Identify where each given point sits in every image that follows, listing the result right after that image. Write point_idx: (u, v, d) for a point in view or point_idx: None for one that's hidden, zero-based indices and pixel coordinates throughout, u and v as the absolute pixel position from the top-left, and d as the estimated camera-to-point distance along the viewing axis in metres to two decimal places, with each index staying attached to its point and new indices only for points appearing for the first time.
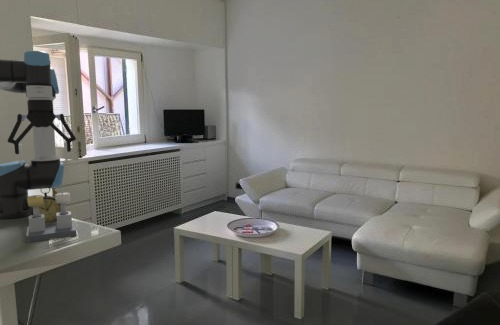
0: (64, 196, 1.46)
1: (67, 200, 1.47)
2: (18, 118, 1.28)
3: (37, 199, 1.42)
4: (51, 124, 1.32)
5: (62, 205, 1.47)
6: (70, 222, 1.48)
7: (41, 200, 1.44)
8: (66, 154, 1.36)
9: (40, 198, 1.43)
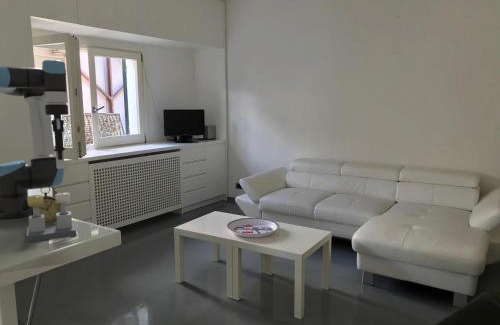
0: (64, 196, 1.46)
1: (67, 200, 1.47)
2: None
3: (37, 199, 1.42)
4: (53, 128, 1.43)
5: (62, 205, 1.47)
6: (70, 222, 1.48)
7: (41, 200, 1.44)
8: (56, 161, 1.45)
9: (40, 198, 1.43)
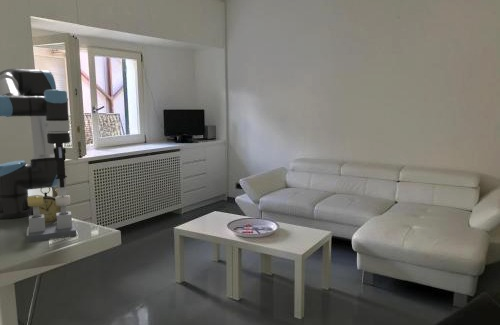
0: (64, 198, 1.46)
1: (67, 202, 1.47)
2: (55, 154, 1.50)
3: (37, 199, 1.42)
4: (55, 157, 1.44)
5: (62, 207, 1.48)
6: (70, 222, 1.48)
7: (41, 200, 1.44)
8: (58, 189, 1.47)
9: (40, 198, 1.43)
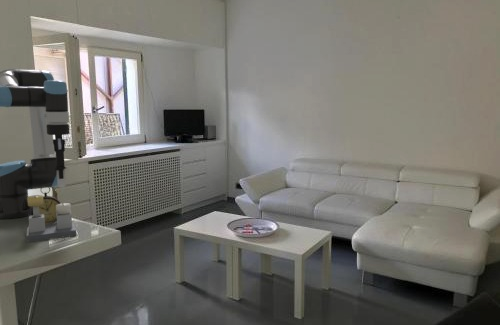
0: (65, 207, 1.47)
1: (68, 211, 1.48)
2: None
3: (37, 199, 1.42)
4: (54, 148, 1.44)
5: None
6: (70, 222, 1.48)
7: (41, 200, 1.44)
8: (57, 180, 1.47)
9: (40, 198, 1.43)
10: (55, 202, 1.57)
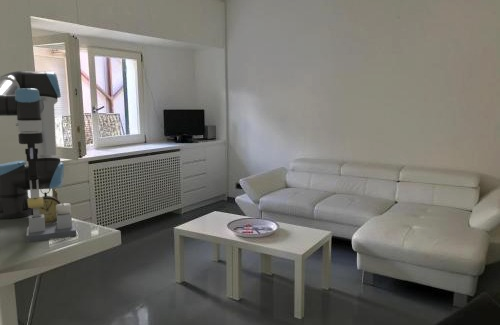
0: (65, 207, 1.47)
1: (68, 211, 1.48)
2: None
3: (37, 201, 1.42)
4: None
5: None
6: (70, 222, 1.48)
7: (41, 202, 1.44)
8: (30, 191, 1.42)
9: (40, 200, 1.43)
10: (55, 202, 1.57)
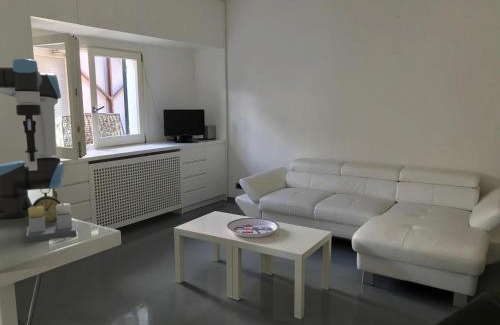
0: (65, 207, 1.47)
1: (68, 211, 1.48)
2: None
3: (38, 210, 1.43)
4: None
5: None
6: (70, 222, 1.48)
7: (42, 211, 1.44)
8: (28, 163, 1.41)
9: (41, 209, 1.44)
10: (55, 202, 1.57)
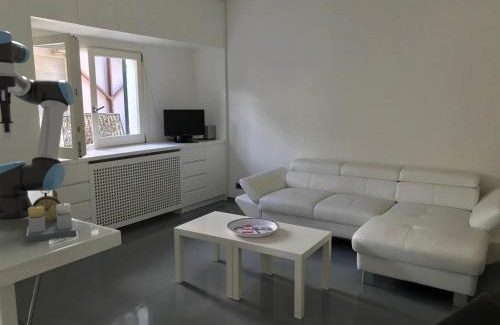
0: (65, 207, 1.47)
1: (68, 211, 1.48)
2: None
3: (38, 210, 1.43)
4: None
5: None
6: (70, 222, 1.48)
7: (42, 211, 1.44)
8: (3, 134, 1.43)
9: (41, 209, 1.44)
10: (55, 202, 1.57)
